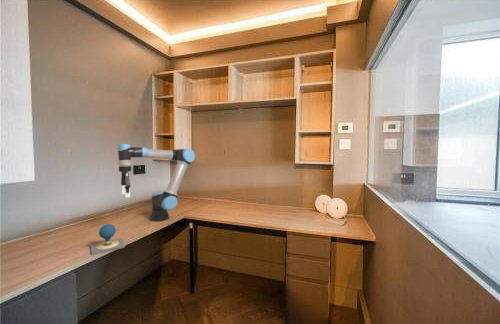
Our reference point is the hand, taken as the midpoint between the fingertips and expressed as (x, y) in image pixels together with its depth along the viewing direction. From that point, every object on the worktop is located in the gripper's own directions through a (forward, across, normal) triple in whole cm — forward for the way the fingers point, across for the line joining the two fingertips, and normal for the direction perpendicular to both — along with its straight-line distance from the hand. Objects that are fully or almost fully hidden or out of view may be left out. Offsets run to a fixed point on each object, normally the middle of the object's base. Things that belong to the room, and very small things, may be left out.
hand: (125, 195), depth 152 cm
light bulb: (+25, +21, -14) cm, 35 cm away
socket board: (+26, +21, -14) cm, 36 cm away
